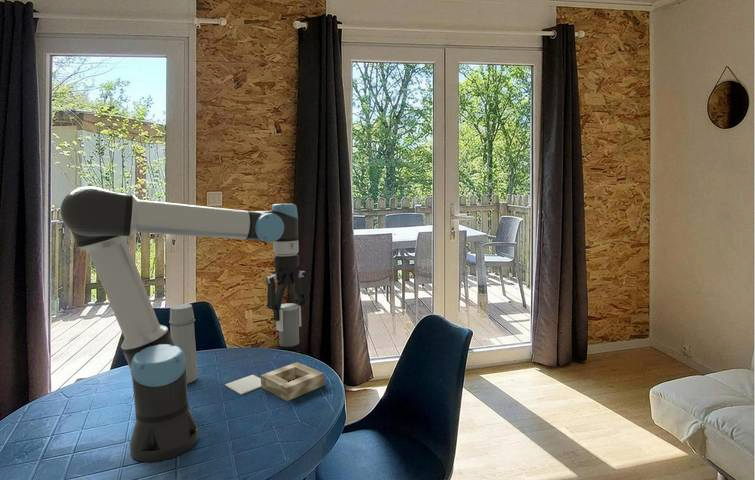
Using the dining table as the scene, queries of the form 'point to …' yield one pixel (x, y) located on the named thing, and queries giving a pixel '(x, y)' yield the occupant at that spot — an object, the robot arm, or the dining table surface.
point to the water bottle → (184, 336)
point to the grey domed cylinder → (289, 325)
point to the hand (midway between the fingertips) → (288, 327)
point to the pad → (245, 384)
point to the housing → (302, 384)
